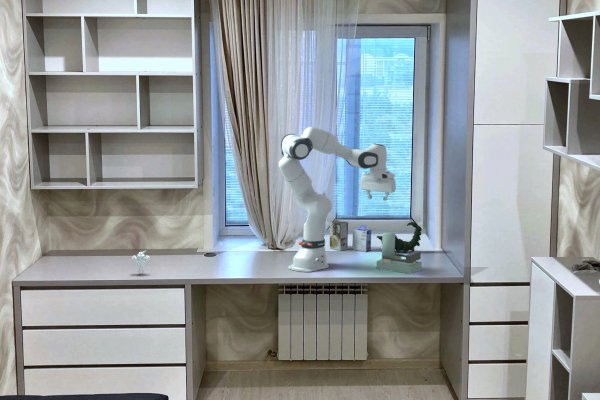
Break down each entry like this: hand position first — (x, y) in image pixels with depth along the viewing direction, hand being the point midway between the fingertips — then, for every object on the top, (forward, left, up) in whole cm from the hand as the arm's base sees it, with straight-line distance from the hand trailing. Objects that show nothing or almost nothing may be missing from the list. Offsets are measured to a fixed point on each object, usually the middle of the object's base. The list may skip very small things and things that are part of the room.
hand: (377, 199), depth 414 cm
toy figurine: (+26, +1, -34) cm, 43 cm away
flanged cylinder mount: (-7, -18, -34) cm, 39 cm away
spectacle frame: (-7, -19, -29) cm, 35 cm away
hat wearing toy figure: (-95, +82, -34) cm, 130 cm away
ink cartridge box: (+18, +20, -34) cm, 44 cm away
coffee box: (+12, +32, -34) cm, 48 cm away
